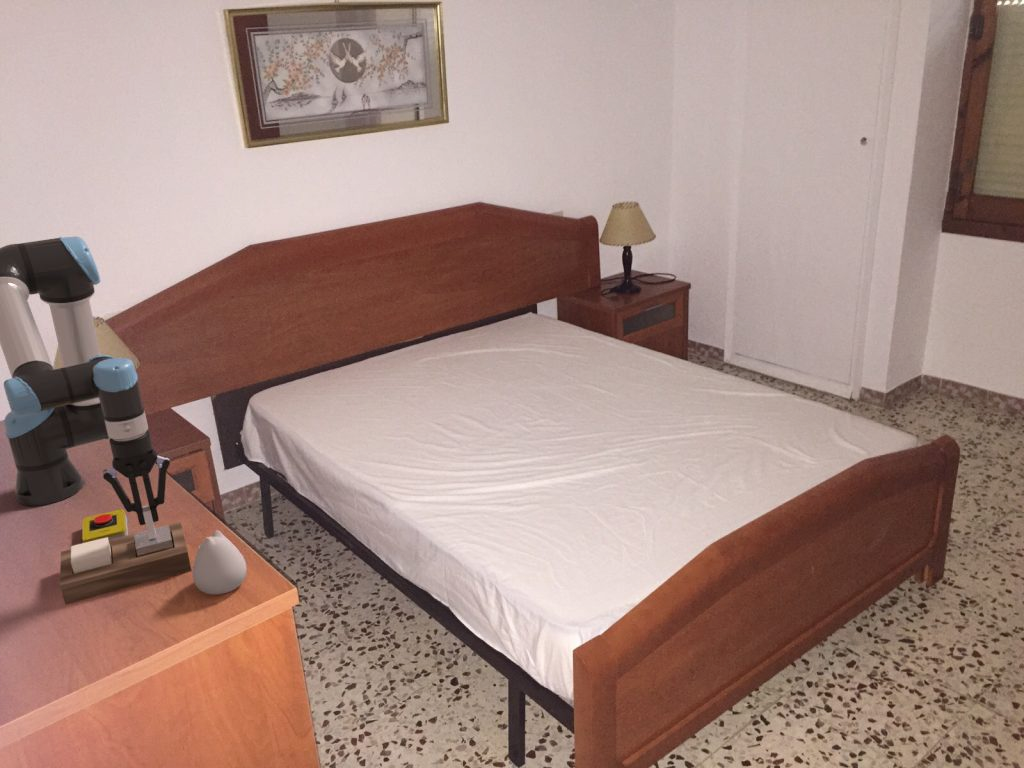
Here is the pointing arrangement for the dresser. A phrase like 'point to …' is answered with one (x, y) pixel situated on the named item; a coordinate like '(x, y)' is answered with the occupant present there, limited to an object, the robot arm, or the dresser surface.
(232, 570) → the toy character
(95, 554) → the cream key
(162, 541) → the steel key
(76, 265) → the robot arm
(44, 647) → the dresser surface
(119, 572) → the brown wooden flat block
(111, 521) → the emergency button
